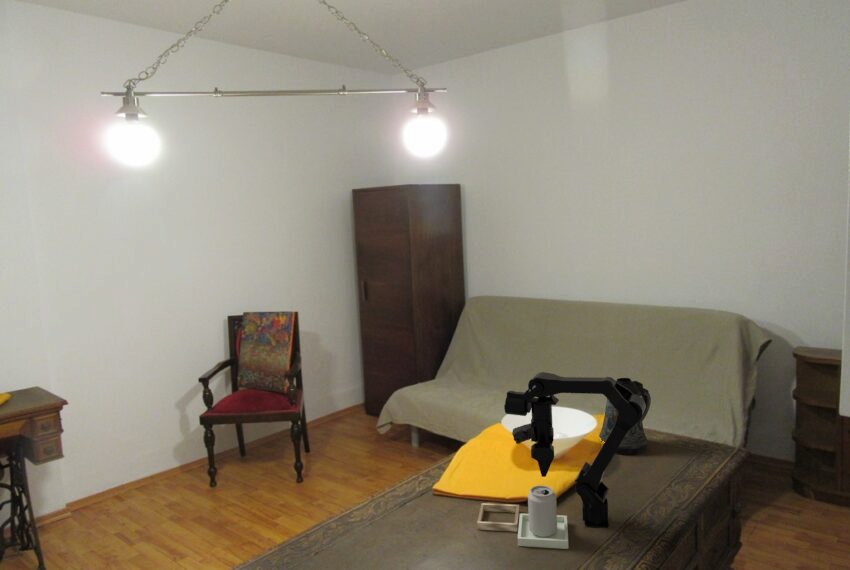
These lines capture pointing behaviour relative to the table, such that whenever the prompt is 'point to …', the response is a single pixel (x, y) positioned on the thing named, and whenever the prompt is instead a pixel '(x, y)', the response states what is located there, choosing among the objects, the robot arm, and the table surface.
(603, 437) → the beer stein
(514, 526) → the holder
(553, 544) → the tray
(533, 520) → the can
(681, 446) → the table surface
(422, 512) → the table surface
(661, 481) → the table surface
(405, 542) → the table surface
